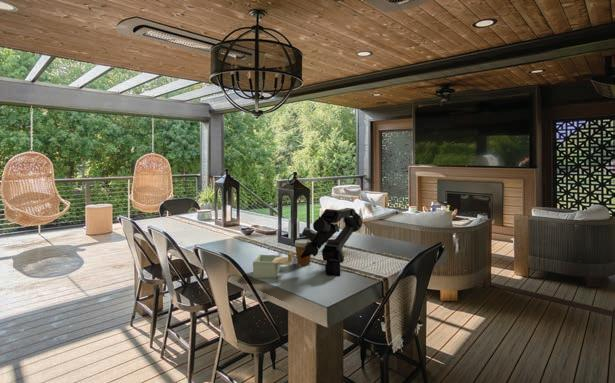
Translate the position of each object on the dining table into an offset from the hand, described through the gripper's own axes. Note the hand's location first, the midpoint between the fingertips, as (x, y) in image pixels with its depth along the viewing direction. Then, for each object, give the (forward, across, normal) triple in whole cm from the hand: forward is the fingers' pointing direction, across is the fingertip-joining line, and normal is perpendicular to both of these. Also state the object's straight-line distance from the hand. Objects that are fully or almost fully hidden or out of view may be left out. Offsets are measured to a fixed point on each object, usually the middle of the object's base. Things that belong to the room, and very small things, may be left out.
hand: (300, 257), depth 173 cm
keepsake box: (+17, 0, -5) cm, 18 cm away
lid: (+8, 0, -4) cm, 9 cm away
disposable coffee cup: (+7, -18, +6) cm, 20 cm away
